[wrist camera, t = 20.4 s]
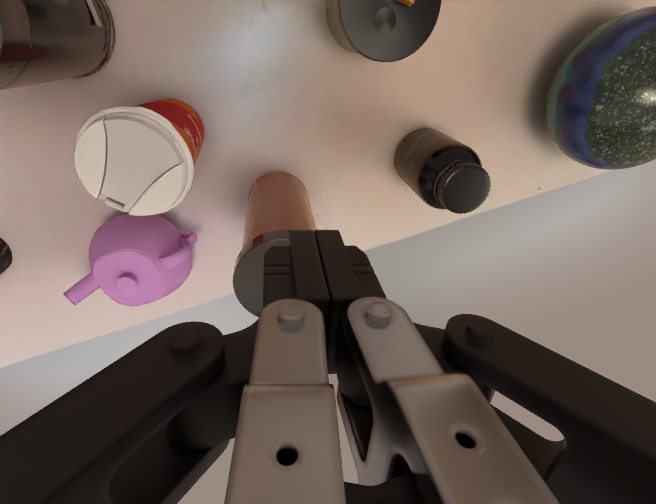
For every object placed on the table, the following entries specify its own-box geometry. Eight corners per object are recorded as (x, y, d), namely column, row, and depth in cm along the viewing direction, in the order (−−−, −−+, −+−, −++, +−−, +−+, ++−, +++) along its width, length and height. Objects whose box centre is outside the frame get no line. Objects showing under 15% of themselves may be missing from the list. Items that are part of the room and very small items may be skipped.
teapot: (220, 258, 48) (210, 301, 40) (114, 298, 49) (84, 349, 41) (177, 186, 43) (156, 219, 35) (59, 233, 43) (12, 276, 35)
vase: (521, 38, 40) (620, 44, 29) (662, -15, 39) (821, -31, 28) (525, 168, 48) (603, 212, 37) (642, 126, 47) (759, 158, 36)
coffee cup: (194, 179, 43) (162, 240, 30) (120, 139, 39) (49, 187, 26) (229, 116, 40) (211, 151, 27) (153, 67, 37) (91, 80, 24)
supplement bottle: (457, 161, 46) (512, 195, 36) (410, 194, 47) (450, 236, 37) (432, 114, 43) (484, 137, 32) (382, 151, 44) (418, 185, 34)
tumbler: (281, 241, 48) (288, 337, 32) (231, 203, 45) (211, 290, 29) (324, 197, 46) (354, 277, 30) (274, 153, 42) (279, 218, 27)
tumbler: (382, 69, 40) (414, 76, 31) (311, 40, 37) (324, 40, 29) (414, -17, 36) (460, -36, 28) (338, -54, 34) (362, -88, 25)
